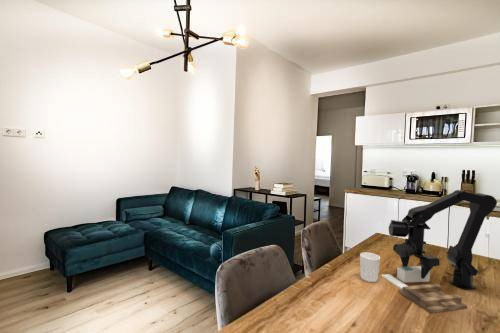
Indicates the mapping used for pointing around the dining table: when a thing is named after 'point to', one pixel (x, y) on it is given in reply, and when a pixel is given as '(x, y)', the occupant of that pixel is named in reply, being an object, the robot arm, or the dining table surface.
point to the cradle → (432, 298)
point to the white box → (411, 274)
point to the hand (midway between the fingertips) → (413, 273)
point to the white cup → (369, 266)
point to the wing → (394, 281)
